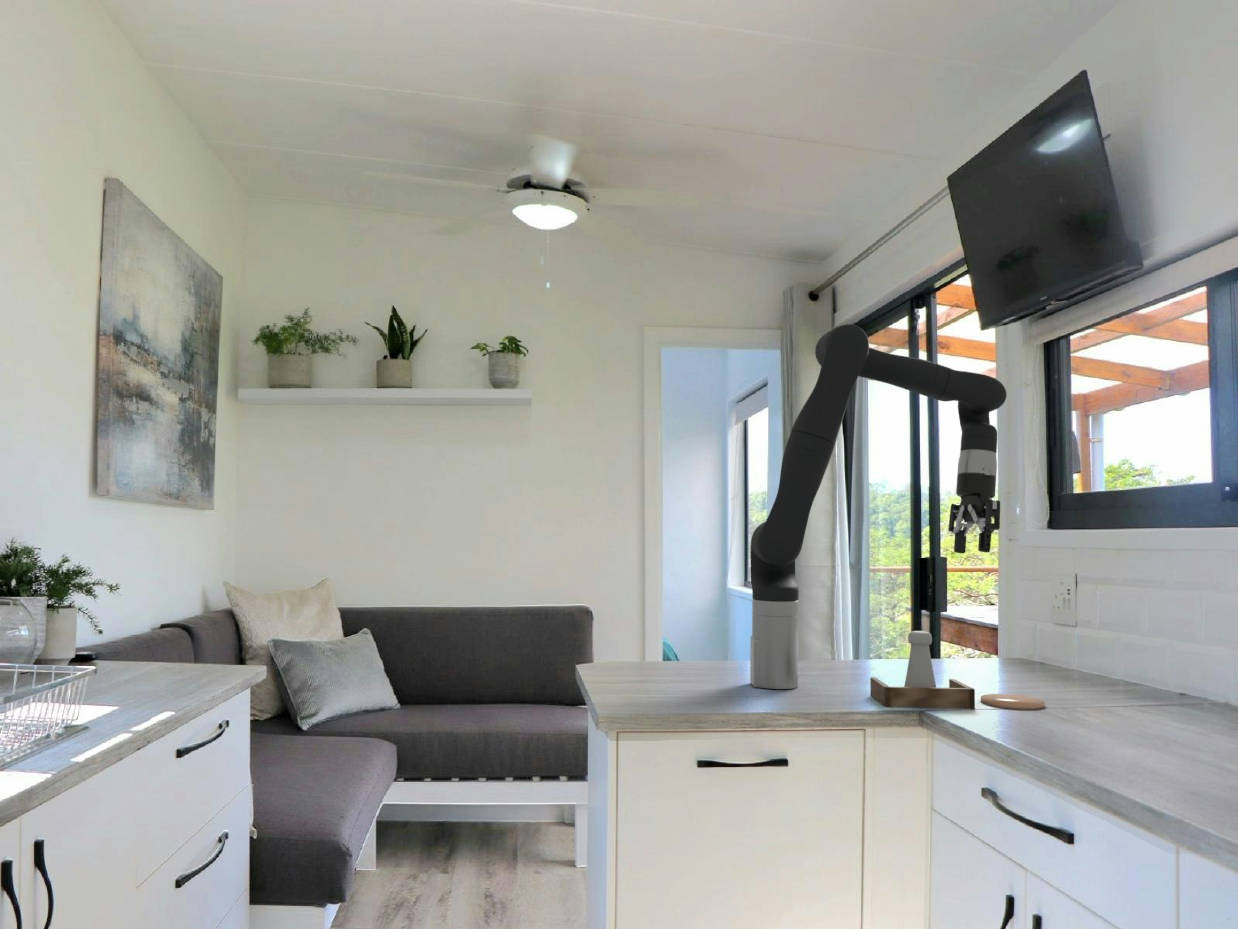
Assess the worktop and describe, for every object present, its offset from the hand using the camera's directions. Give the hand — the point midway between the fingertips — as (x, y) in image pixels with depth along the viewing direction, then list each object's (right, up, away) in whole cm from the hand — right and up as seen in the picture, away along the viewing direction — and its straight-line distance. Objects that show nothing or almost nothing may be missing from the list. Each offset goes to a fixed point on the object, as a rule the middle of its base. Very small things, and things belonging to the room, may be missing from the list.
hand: (971, 552), depth 194 cm
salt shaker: (-16, -26, -17) cm, 35 cm away
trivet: (+1, -27, -17) cm, 31 cm away
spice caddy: (-16, -26, -17) cm, 35 cm away
